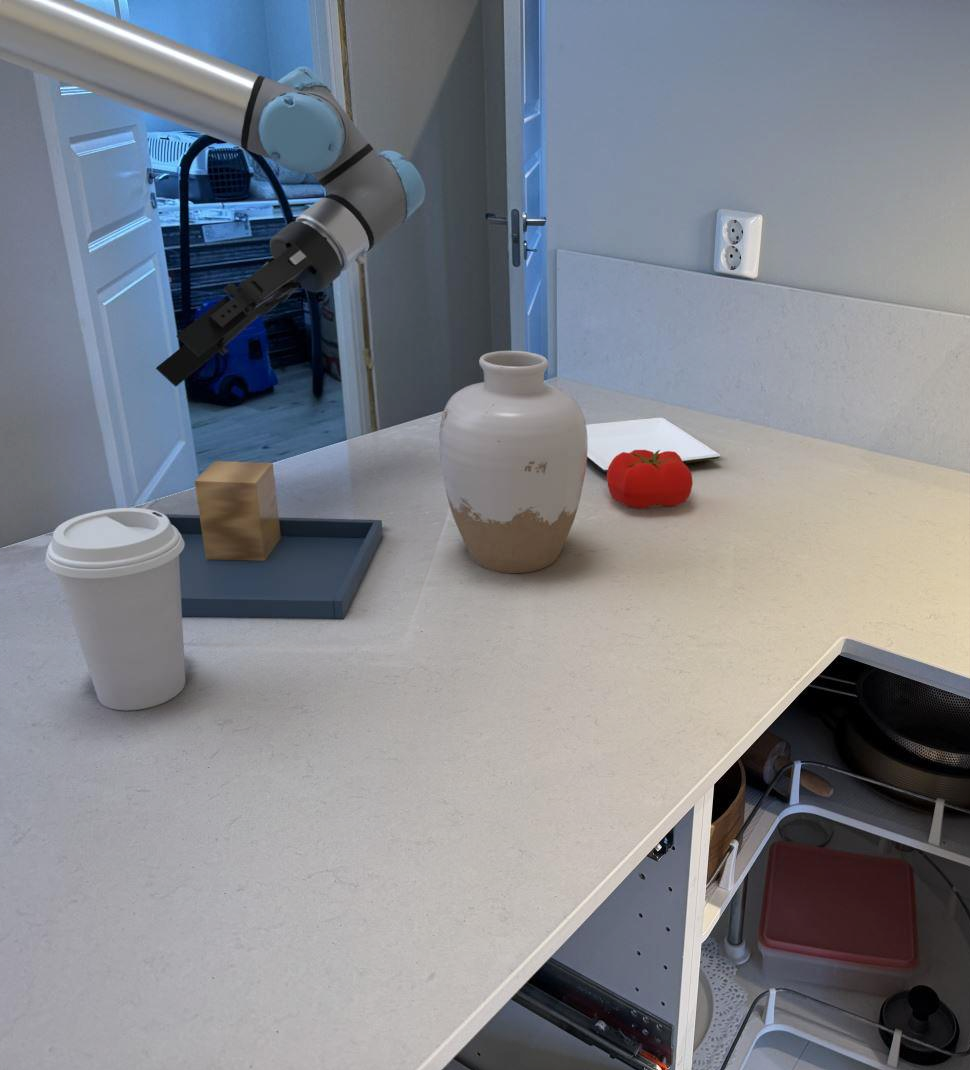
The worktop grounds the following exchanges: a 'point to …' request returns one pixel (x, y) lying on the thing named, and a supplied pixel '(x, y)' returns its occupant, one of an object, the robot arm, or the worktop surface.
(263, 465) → the block
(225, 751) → the worktop surface
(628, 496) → the tomato
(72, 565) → the coffee cup
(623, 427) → the plate
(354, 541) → the tray
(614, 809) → the worktop surface
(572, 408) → the vase
